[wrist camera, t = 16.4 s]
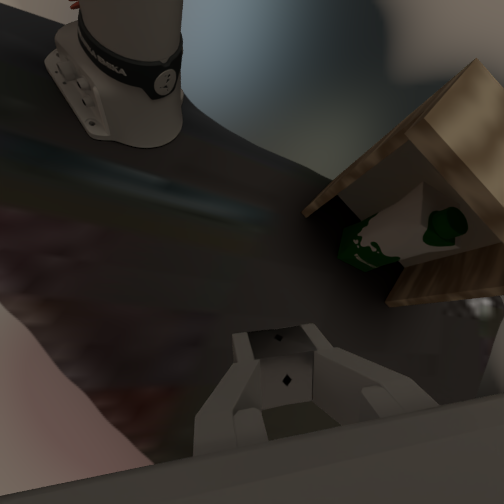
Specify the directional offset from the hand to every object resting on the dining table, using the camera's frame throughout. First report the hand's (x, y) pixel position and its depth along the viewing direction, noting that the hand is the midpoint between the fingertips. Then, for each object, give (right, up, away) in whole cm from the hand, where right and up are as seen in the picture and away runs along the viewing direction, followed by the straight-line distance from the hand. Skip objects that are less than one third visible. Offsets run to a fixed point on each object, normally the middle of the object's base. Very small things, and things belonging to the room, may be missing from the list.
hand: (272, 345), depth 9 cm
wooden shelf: (+20, +4, +43) cm, 47 cm away
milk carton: (+20, +4, +43) cm, 48 cm away
